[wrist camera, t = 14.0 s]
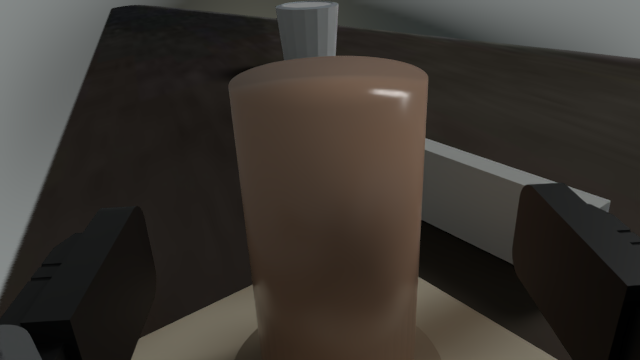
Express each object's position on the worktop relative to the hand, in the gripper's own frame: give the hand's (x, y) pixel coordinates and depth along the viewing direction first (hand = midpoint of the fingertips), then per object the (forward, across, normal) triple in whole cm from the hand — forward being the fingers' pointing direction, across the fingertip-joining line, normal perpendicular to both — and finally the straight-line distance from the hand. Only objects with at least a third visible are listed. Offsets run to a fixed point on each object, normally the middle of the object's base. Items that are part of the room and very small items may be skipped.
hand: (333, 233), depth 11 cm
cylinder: (+4, 0, +8) cm, 8 cm away
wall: (+12, -7, +8) cm, 17 cm away
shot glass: (+49, -1, +8) cm, 50 cm away
